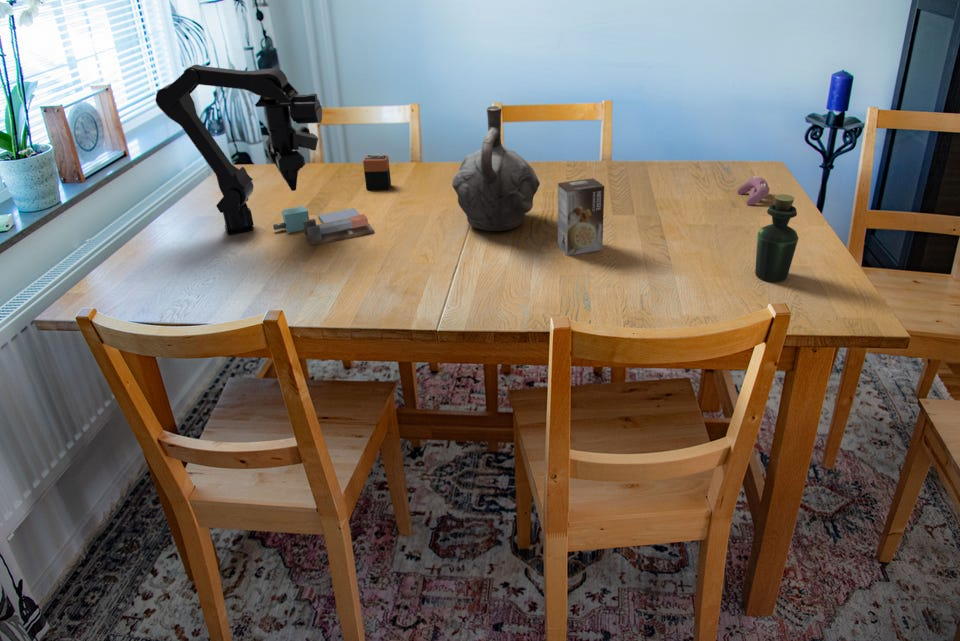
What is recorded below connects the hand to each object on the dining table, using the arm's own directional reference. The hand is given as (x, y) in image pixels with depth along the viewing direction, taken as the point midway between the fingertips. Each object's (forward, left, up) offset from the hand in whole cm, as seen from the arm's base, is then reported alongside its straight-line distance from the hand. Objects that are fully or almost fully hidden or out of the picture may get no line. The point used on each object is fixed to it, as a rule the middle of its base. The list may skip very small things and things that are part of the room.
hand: (290, 185), depth 191 cm
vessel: (+46, -23, -12) cm, 53 cm away
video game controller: (+115, -41, -12) cm, 122 cm away
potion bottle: (+87, -78, -12) cm, 117 cm away
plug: (-1, 0, -12) cm, 12 cm away
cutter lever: (+9, -10, -10) cm, 17 cm away
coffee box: (+58, -46, -12) cm, 75 cm away
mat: (+12, -1, -12) cm, 16 cm away
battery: (+28, +19, -12) cm, 36 cm away
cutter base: (+9, -10, -12) cm, 18 cm away
